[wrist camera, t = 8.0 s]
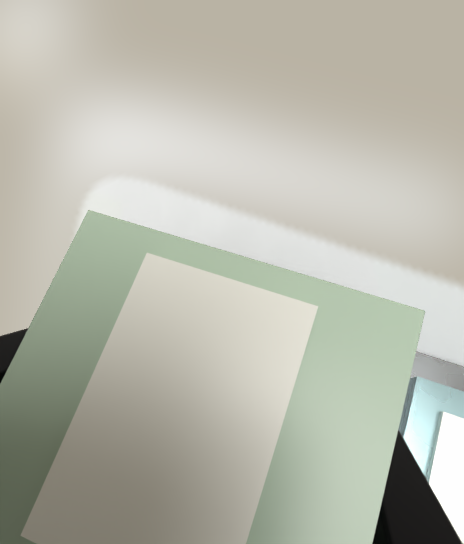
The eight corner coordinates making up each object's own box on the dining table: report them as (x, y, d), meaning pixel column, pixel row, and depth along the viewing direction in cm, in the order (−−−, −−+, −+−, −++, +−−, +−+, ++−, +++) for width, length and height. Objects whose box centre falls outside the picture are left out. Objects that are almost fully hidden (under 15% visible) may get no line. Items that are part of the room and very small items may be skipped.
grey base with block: (484, 380, 17) (586, 362, 11) (445, 602, 14) (549, 717, 9) (209, 292, 19) (182, 241, 14) (141, 470, 17) (74, 495, 11)
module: (331, 378, 15) (433, 304, 5) (293, 512, 13) (332, 759, 4) (201, 333, 16) (79, 200, 6) (155, 454, 14) (-91, 530, 5)
